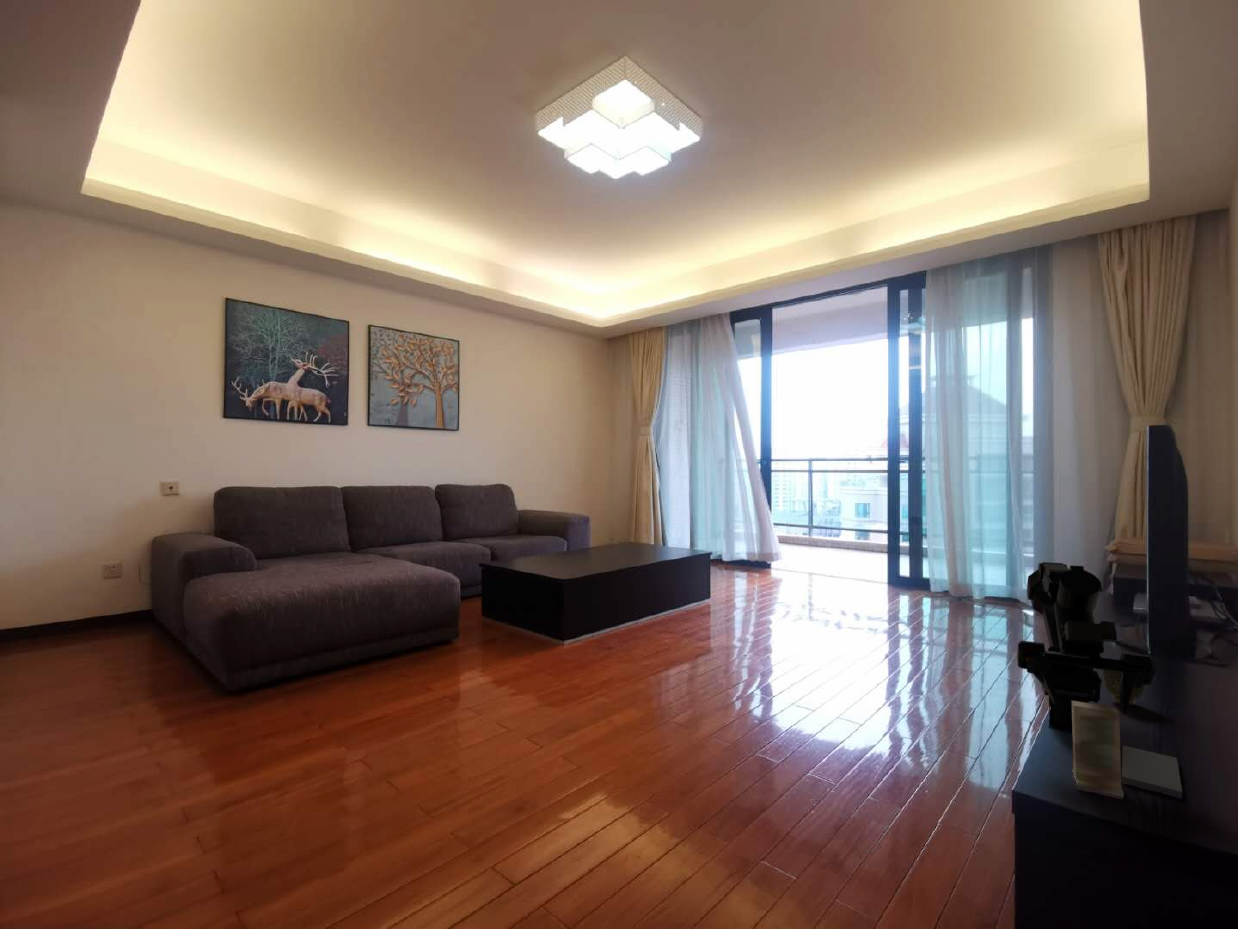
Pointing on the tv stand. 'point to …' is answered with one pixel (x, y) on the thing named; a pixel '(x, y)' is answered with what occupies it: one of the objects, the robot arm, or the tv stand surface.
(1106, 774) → the tapered block
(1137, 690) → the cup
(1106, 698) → the tv stand surface
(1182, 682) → the tv stand surface
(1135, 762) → the slate tile
